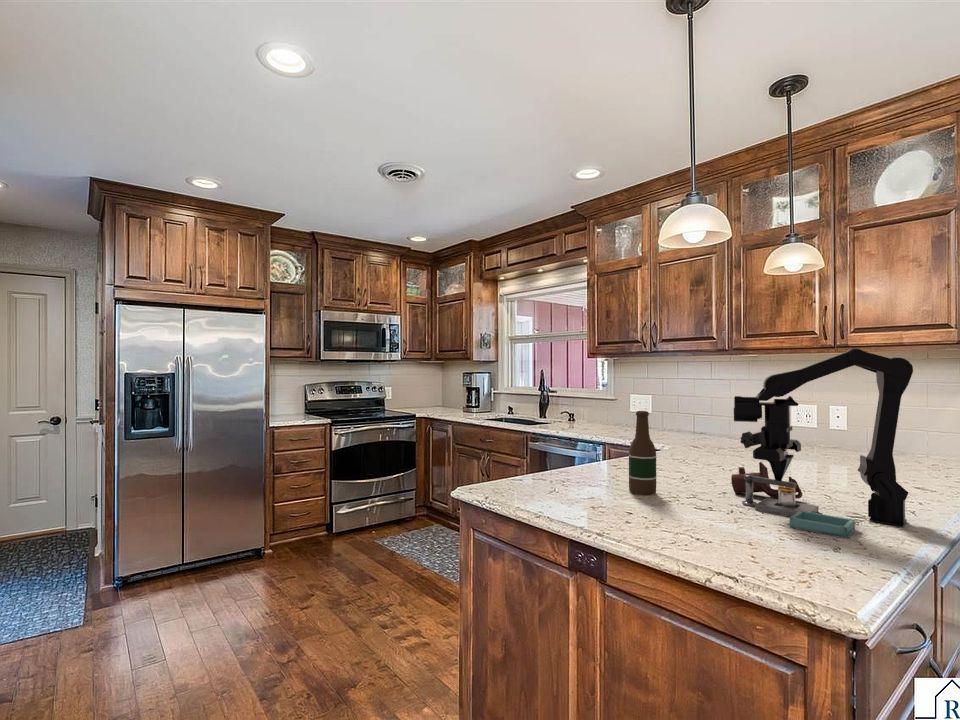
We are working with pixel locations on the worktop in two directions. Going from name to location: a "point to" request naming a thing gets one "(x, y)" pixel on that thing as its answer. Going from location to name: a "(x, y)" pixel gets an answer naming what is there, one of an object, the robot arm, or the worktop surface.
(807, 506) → the hitch plate
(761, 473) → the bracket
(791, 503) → the jar with golden lid
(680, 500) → the worktop surface
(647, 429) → the beer bottle
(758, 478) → the bar
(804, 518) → the tray
